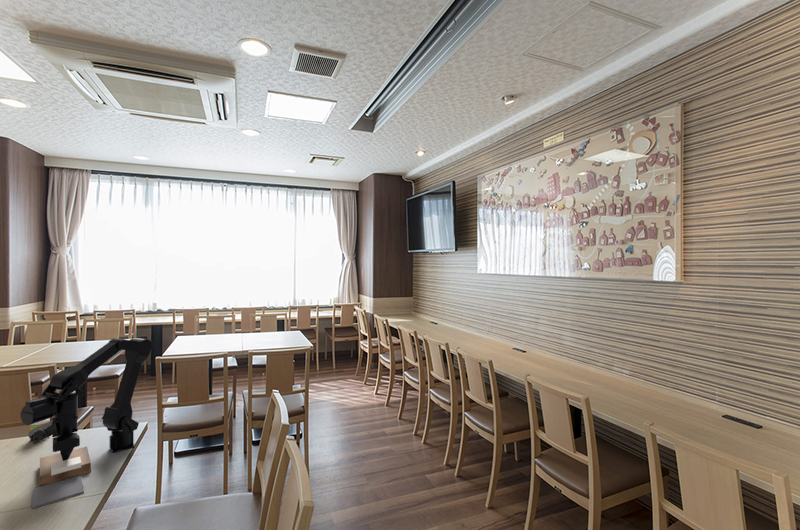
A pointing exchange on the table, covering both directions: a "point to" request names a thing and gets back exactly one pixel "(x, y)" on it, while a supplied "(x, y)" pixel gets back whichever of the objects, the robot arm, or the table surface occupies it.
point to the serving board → (85, 468)
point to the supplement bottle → (39, 425)
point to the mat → (57, 491)
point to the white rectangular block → (65, 465)
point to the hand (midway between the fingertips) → (65, 460)
